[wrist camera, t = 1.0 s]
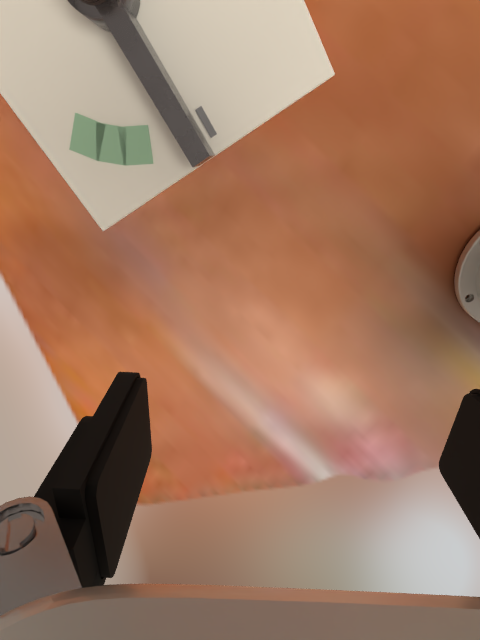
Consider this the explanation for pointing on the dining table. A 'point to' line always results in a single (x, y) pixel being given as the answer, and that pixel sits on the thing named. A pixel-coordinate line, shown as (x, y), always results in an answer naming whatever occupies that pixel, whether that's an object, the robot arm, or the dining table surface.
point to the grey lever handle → (148, 71)
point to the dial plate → (132, 98)
